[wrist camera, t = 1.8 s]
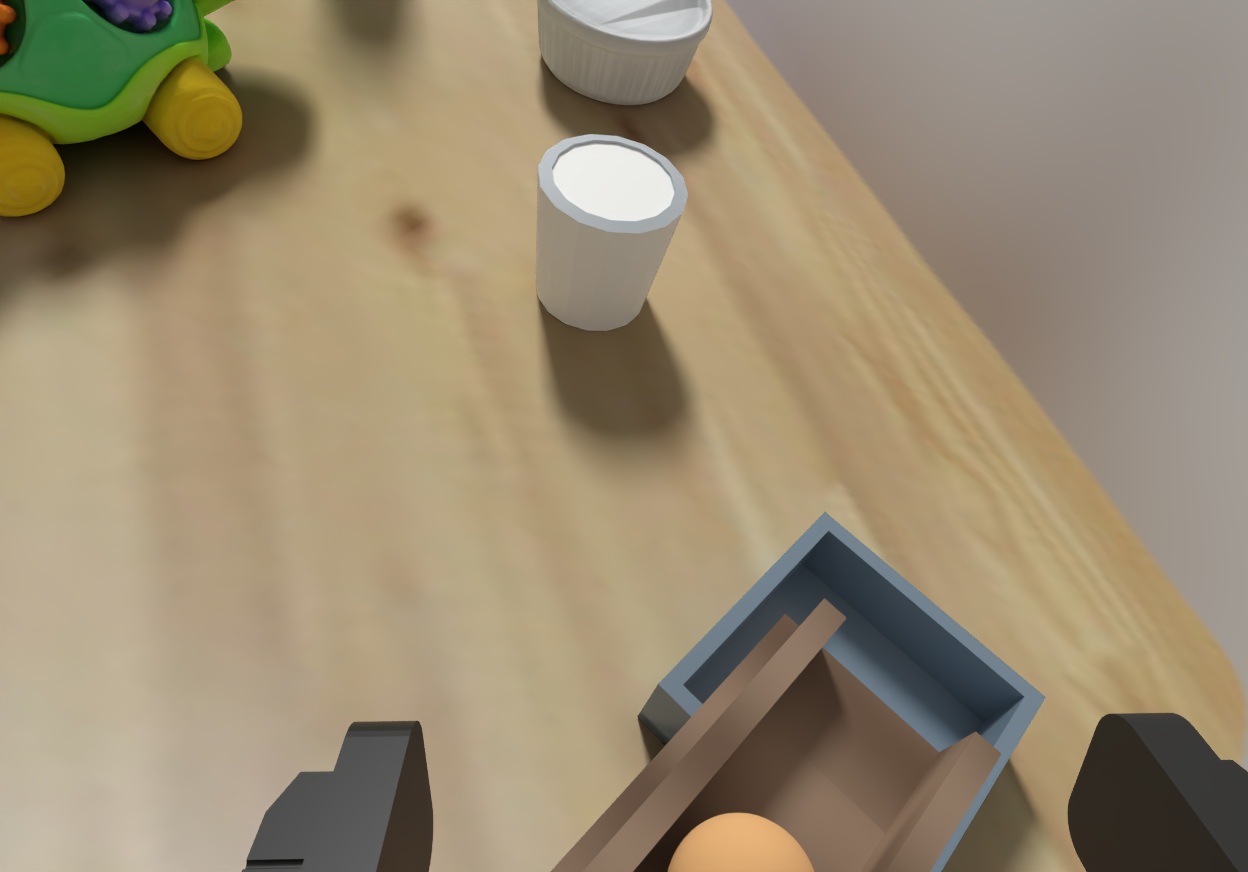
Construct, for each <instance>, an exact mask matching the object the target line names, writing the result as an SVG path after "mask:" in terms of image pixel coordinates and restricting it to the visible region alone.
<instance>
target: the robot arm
mask: <svg viewBox="0 0 1248 872" xmlns="http://www.w3.org/2000/svg"><path fill="white" fill-rule="evenodd" d="M1068 824H1069V831H1070V835H1071V839H1072V842H1073V845H1074V848H1075V850H1076V853H1077V855H1078V857H1079V859H1080V861H1081V862H1082V864H1083V866H1084V868H1085V869H1086V871H1087V872H1248V772H1247V771H1246V770H1245V769H1243V768H1242V767H1241V766H1239V765H1238V764H1237V763H1235V762H1234V761H1233V760H1220V758H1219V757H1218V756H1217V755H1216V754H1215V752H1214V751H1213V750H1212V749H1211V747H1210V746H1209V745H1208V744H1207V743H1206V741H1205V740H1204V739H1203V738H1202V736H1201V735H1200V734H1199V733H1198V732H1197V730H1196V729H1195V728H1194V727H1193V726H1192V725H1191V724H1190V722H1188V721H1187V720H1186V719H1185V718H1183V717H1182V716H1180V715H1178V714H1174V713H1133V714H1108V715H1105V716H1104V717H1102V718H1101V720H1100V721H1099V723H1098V725H1097V727H1096V730H1095V732H1094V735H1093V738H1092V740H1091V743H1090V746H1089V748H1088V751H1087V754H1086V756H1085V759H1084V761H1083V764H1082V767H1081V769H1080V772H1079V775H1078V777H1077V780H1076V783H1075V785H1074V788H1073V791H1072V793H1071V796H1070V799H1069V804H1068ZM432 841H433V808H432V800H431V793H430V785H429V778H428V770H427V763H426V755H425V748H424V740H423V733H422V728H421V725H420V723H419V721H382V722H354V723H352V724H351V726H350V727H349V729H348V731H347V733H346V736H345V739H344V742H343V745H342V748H341V751H340V754H339V757H338V760H337V763H336V766H335V769H334V771H333V772H300V773H299V774H298V776H297V777H296V778H295V779H294V780H293V781H292V783H291V784H290V785H289V786H288V787H287V788H286V789H285V791H284V792H283V793H282V794H281V795H280V796H279V798H278V799H277V800H276V801H275V802H274V803H273V804H272V806H271V807H270V808H269V809H268V810H267V811H266V813H265V815H264V818H263V820H262V823H261V825H260V828H259V830H258V833H257V835H256V838H255V840H254V843H253V845H252V848H251V850H250V853H249V855H248V858H247V865H246V868H245V869H243V870H242V872H429V867H430V860H431V852H432Z"/></svg>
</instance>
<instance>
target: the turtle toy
mask: <svg viewBox="0 0 1248 872" xmlns="http://www.w3.org/2000/svg"><path fill="white" fill-rule="evenodd" d="M232 1H234V0H0V216H9V217H17V216H24V215H29V214H32V213H35V212H38V211H40V210H42V209H44V208H45V207H47V206H49V205H50V204H51V203H52V202H53V201H54V200H55V199H56V198H57V197H58V196H59V195H60V193H61V191H62V189H63V185H64V181H65V170H64V165H63V162H62V160H61V158H60V156H59V154H58V152H57V151H56V149H55V148H54V146H53V144H72V143H79V142H85V141H91V140H95V139H97V138H100V137H102V136H106V135H110V134H114V133H117V132H119V131H122V130H124V129H126V128H129V127H131V126H132V125H134V124H136V123H138V122H140V121H141V120H142V121H143V122H144V123H145V124H146V125H147V127H148V128H149V129H150V130H151V131H152V132H153V133H154V134H155V135H156V136H157V137H158V138H159V140H160V141H161V142H162V143H163V144H164V145H165V146H167V147H168V148H169V149H170V150H171V151H173V152H174V153H176V154H178V155H179V156H182V157H185V158H188V159H193V160H205V159H209V158H213V157H216V156H218V155H220V154H222V153H223V152H225V151H227V150H228V149H229V148H230V147H231V146H232V145H233V144H234V142H235V141H236V139H237V138H238V136H239V133H240V130H241V128H242V111H241V108H240V105H239V103H238V101H237V99H236V98H235V96H234V95H233V94H232V92H231V91H230V90H229V89H228V87H227V86H226V85H225V84H224V83H223V82H222V81H221V80H220V79H219V78H218V77H217V76H216V74H215V73H214V71H217V70H219V69H221V68H222V67H224V66H225V65H226V64H228V63H229V61H230V59H231V55H232V54H231V49H230V46H229V44H228V41H227V39H226V37H225V35H224V34H223V33H222V31H221V30H220V29H219V28H218V27H217V26H216V25H215V24H213V23H212V22H211V21H209V20H208V19H205V18H203V17H204V16H206V15H208V14H210V13H212V12H213V11H215V10H217V9H219V8H221V7H223V6H224V5H226V4H228V3H230V2H232Z"/></svg>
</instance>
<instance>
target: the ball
mask: <svg viewBox="0 0 1248 872" xmlns="http://www.w3.org/2000/svg"><path fill="white" fill-rule="evenodd" d="M668 872H815V871H814V869H813V867H812V864H811V862H810V860H809V858H808V857H807V855H806V853H805V852H804V850H803V849H802V847H801V846H800V845H799V843H798V842H797V841H796V840H795V839H794V838H793V837H792V836H791V835H790V834H789V833H788V832H787V831H786V830H784V829H783V828H782V827H780V826H779V825H777V824H775V823H774V822H772V821H770V820H768V819H766V818H763V817H760V816H758V815H753V814H749V813H726V814H722V815H718V816H715V817H713V818H710V819H708V820H706V821H704V822H703V823H701V824H699V825H698V826H696V827H695V828H694V829H693V830H691V831H690V833H689V834H688V835H687V836H686V837H685V838H684V839H683V840H682V842H681V843H680V845H679V846H678V847H677V849H676V851H675V853H674V855H673V857H672V860H671V862H670V865H669V868H668Z"/></svg>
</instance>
